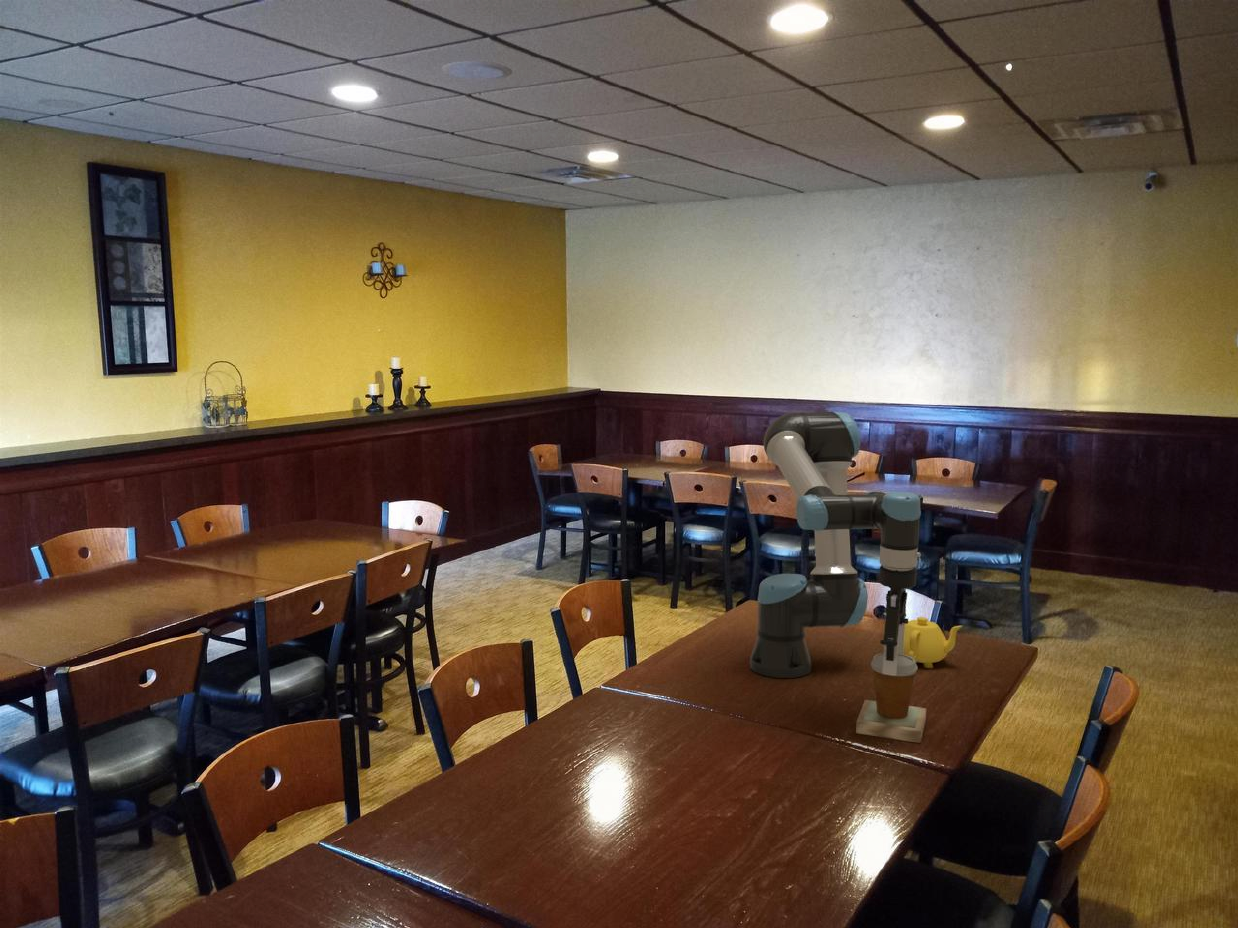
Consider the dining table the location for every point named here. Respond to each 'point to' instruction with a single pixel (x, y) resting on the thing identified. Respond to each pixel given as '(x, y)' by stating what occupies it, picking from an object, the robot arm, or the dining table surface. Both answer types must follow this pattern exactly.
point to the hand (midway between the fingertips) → (893, 663)
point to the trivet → (891, 723)
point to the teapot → (927, 641)
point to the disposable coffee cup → (894, 686)
